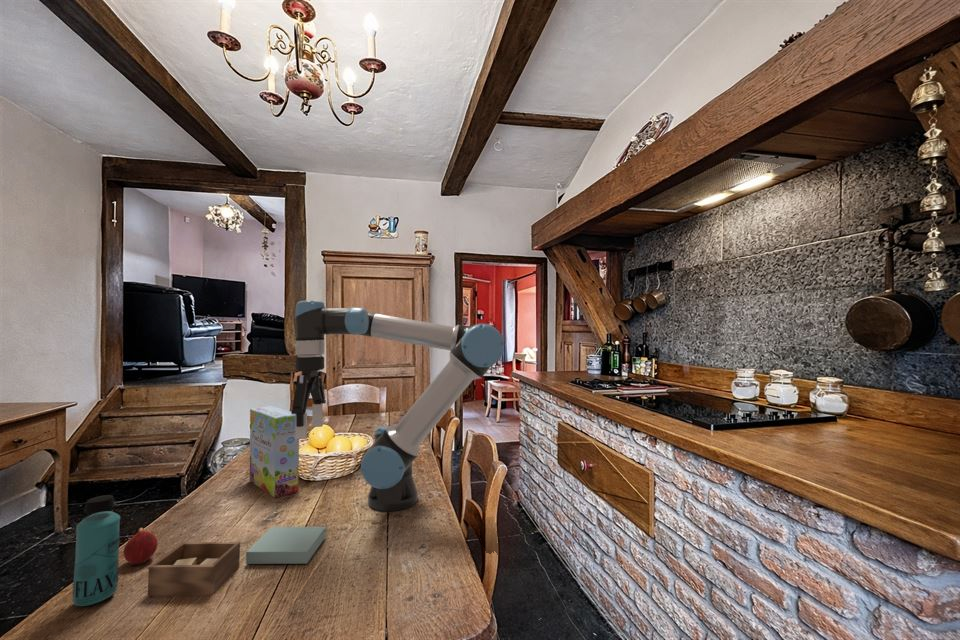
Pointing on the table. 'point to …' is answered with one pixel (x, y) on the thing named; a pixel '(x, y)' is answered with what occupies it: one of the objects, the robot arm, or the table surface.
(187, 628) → the table surface
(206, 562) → the block
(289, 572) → the table surface
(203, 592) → the box
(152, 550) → the onion
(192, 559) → the block
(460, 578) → the table surface
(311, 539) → the lid
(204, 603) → the table surface
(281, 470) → the snack box
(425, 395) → the robot arm
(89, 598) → the beverage bottle
